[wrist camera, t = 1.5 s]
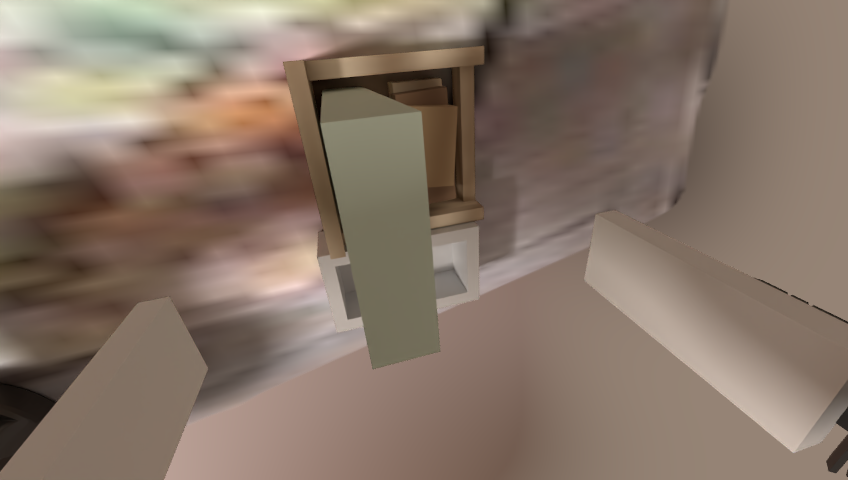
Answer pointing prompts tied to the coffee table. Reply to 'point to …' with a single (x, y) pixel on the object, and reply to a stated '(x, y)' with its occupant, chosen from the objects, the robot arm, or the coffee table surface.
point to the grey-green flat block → (384, 218)
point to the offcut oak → (439, 142)
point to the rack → (457, 58)
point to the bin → (451, 273)
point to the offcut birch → (413, 85)
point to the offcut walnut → (429, 98)
